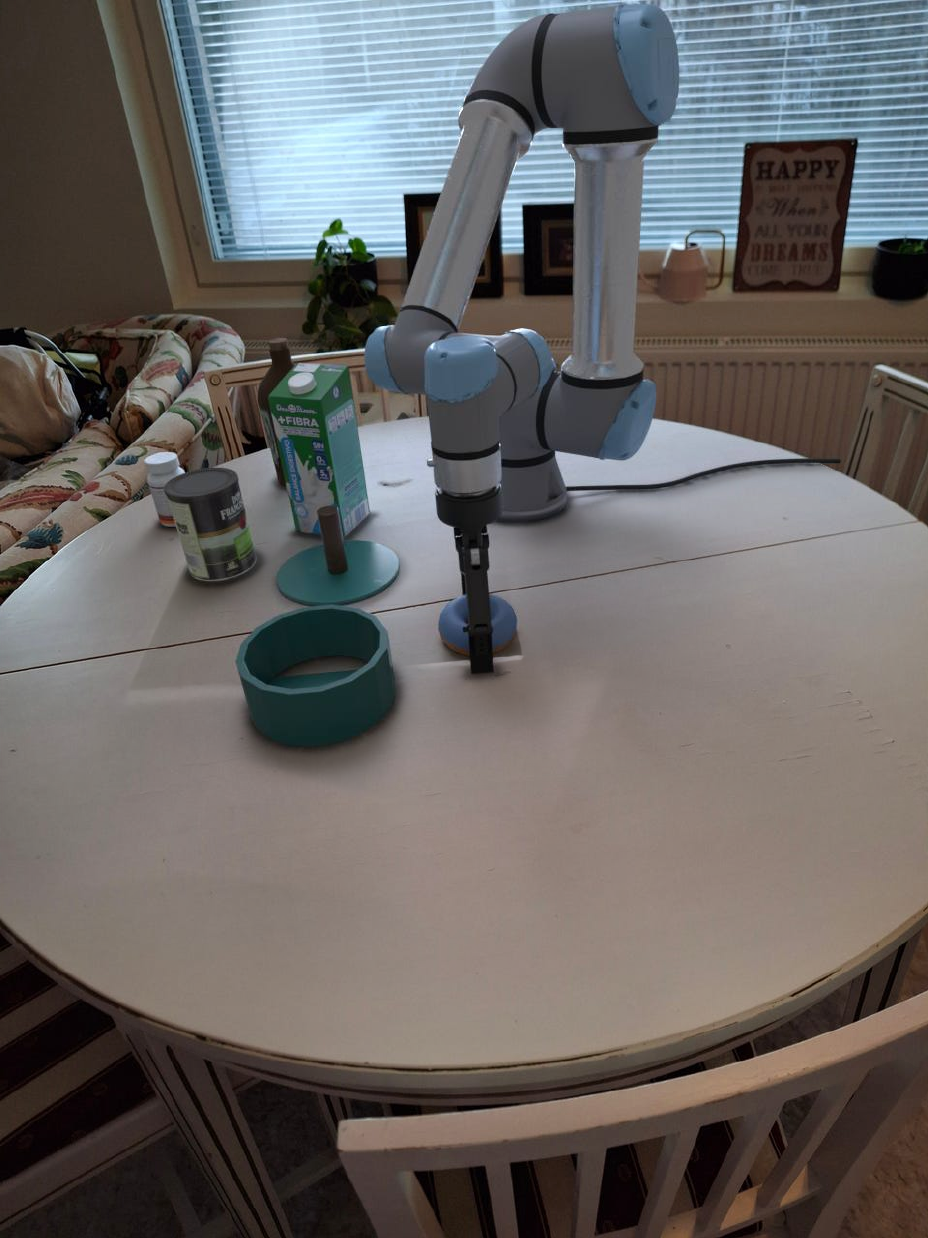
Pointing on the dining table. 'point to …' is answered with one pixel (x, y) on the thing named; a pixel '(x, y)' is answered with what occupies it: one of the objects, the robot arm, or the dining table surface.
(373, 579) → the lid
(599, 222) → the robot arm
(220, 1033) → the dining table surface
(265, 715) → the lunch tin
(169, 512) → the pill bottle
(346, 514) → the milk carton
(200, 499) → the coffee can
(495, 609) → the doughnut
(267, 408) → the olive oil
